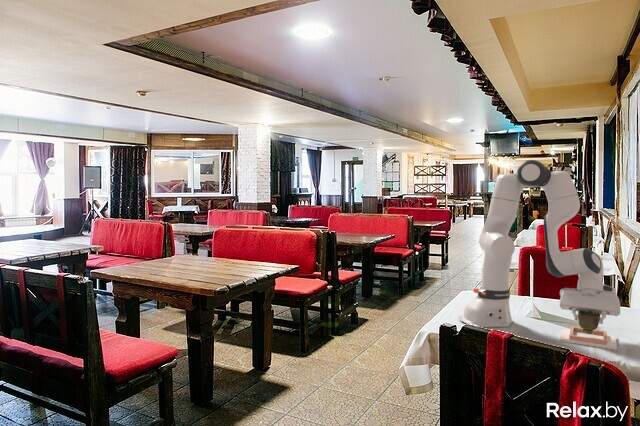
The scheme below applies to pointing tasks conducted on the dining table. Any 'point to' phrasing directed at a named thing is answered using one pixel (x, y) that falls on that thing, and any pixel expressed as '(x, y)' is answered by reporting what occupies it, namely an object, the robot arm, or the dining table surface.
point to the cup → (588, 321)
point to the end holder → (589, 338)
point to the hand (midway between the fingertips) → (588, 321)
